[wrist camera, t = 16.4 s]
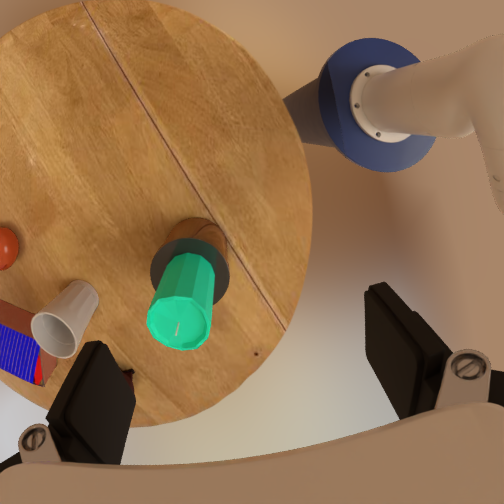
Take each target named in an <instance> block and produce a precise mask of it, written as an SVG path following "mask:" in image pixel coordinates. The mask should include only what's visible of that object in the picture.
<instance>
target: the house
mask: <svg viewBox="0 0 504 504" xmlns="http://www.w3.org/2000/svg"><path fill="white" fill-rule="evenodd" d="M34 316H35V314H32V313H30V312H28V311H25V310H23V309H21V308H18V307H16V306H14V305H11V304H9V303H7V302H5V301H3V300H0V368H1V369H3V370H5V371H7V372H9V373H11V374H13V375H15V376H17V377H19V378H21V379H23V380H25V381H27V382H30V383H32V384H35V385H39V386H43V385H44V386H45V384H46V382H47V381H48V379H49V377H50V375H51V374H52V372H53V370H54V369H55V367H56V365H57V364H56V357H55V356H52V355H50V354H49V353H47V352H46V351H44V350H43V349H42V348H41V347H40V346H39V345H38V343H37V342H36V340H35V339H34V337H33V334H32V331H31V321H32V318H33V317H34ZM38 354H39V355H38ZM44 386H43V387H44Z"/></svg>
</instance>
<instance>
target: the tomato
mask: <svg viewBox="0 0 504 504" xmlns="http://www.w3.org/2000/svg"><path fill="white" fill-rule="evenodd" d="M18 252H19V242H18V238H17V236H16V235H15V233H14V232H13V231H12V230H10V229H8V228H5V227H0V270H6V269H8V268H9V267H11V266H12V265H13V263H14V262H15V260H16V258H17V256H18Z"/></svg>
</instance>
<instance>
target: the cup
mask: <svg viewBox="0 0 504 504" xmlns="http://www.w3.org/2000/svg"><path fill="white" fill-rule="evenodd" d="M98 304H99V298H98V294H97V292H96V291H95V289H94V288H93V287H92V286H91V285H90V284H89V283H87V282H85V281H82V280H75V281H73V282H71V283H70V284H69V285H68V286H67V287H66V288H65V289H64V290H63V291H62V292H61V293H60V294H59V295H58V296H56V297H55V298H54V299H53V300H52V301H51V302H50V303H49V304H48V305H46V306H45V307H44V308H43V309H41V310H40V311H39V312H38V313H37V314H36V315H35V316H34V317H33V318H32V321H31V331H32V334H33V337H34V339H35V340H36V342H37V343H38V345H39V346H40V347H41V348H42V349H43V350H44V351H46V352H47V353H49V354H50V355H52V356H55V357H58V358H69V357H71V356H73V355H74V354H75V352H76V350H77V348H78V346H79V343H80V341H81V339H82V336H83V333H84V331H85V329H86V327H87V325H88V323H89V321H90V319H91V317H92V315H93V313H94V311H95V310H96V308H97V307H98Z"/></svg>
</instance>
